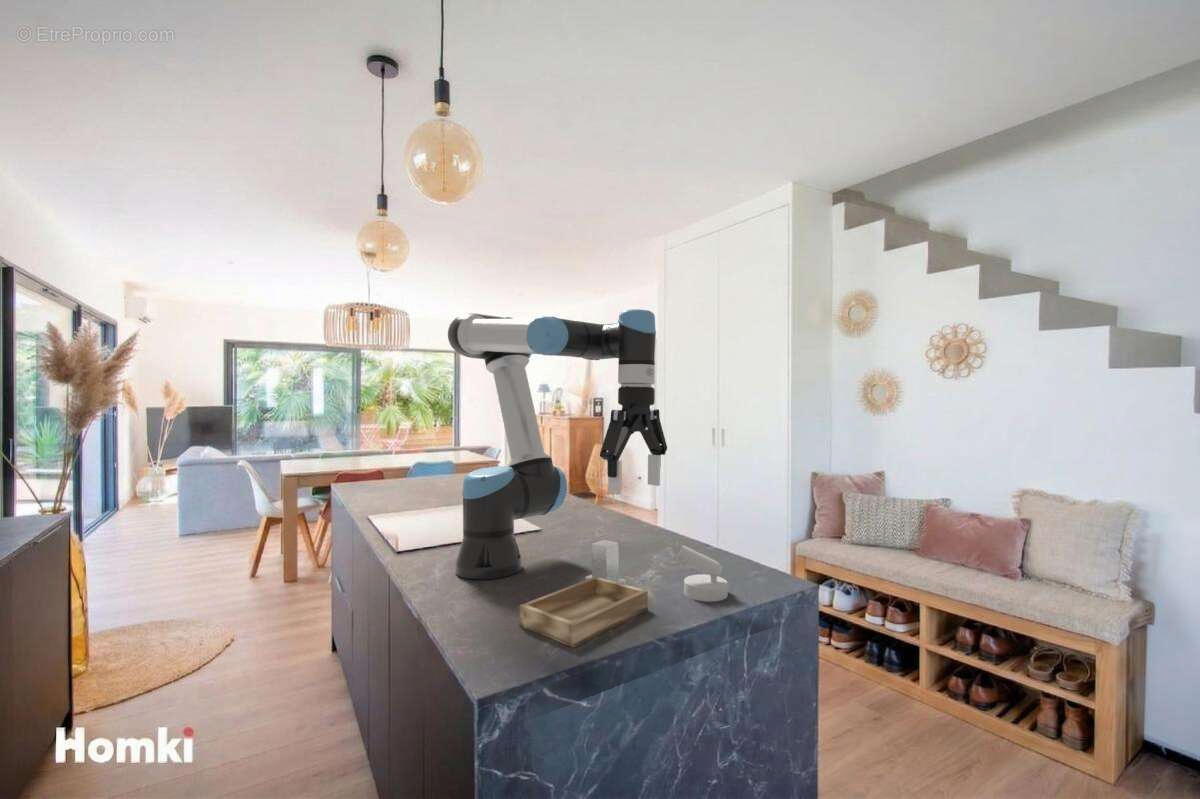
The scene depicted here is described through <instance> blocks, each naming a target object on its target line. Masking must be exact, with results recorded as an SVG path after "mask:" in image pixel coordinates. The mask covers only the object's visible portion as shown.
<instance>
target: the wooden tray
mask: <svg viewBox="0 0 1200 799" xmlns="http://www.w3.org/2000/svg"><path fill="white" fill-rule="evenodd" d="M648 597H649V595H648V590H645V589H642V588H638V587H635V586H631V585H628V584H626V585H625V584H621V583H617V582H614V581H610V580H606V579H603V578H599V577H596V576H595V577H592V578H590V579H587V580H585V579H584V580H582V581H579V582H577V583H574V584H572V585H569V586H567V587H564V588H561V589H559V590H556V591H553V592H551V593H548V594H546V595H544V596H540V597H538V598H536V599H533V600H530V601H528V602H525V603H522V604H520V605H519V616H518V617H519V619H518V620H519V627H521V628H523V629H527V630H529V631H531V632H534V633H536V634H539V635H541V636H544V637H546V638H549V639H551V640H553V641H556V642H558V643H561V644H564V645H566V646H568V647H571V648H573V649H575V648H576V647H578V646H580V645H582V644H585V643H586V642H588V641H590V640H592V639H594V638H595V637H598V636H600V635H601V634H604V633H605V632H607V631H609V630H611V629H613V628H615V627H617V626H618V625H621V624H623V623H625V622H626V621H629V620H630V619H633V618H634V617H636V616H639V615H640V614H642V613H644V612H646V611H648V609H649V606H648V604H649V602H648V600H649V599H648Z"/></svg>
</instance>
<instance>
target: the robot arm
mask: <svg viewBox="0 0 1200 799" xmlns="http://www.w3.org/2000/svg"><path fill="white" fill-rule="evenodd" d="M617 320H618V321H617V322H615V323H613V322H612V323H607V324H602V323H601V324H600V323H594V322H587V321H579V320H571V319H565V318H559V317H557V316H547V315H546V316H542V315H541V316H540V315H539V316H537V317H534V318H514V317H507V316H506V317H501V316H494V315H490V314H489V315H488V314H482V313H472V312H471V313H465V314H461V315H459V316H456V318H454V319H453V320H452V321H451V323H450V324H449V327H448V330H447V339H448V342H449V345H450V346H451V348H452V349H453V350H454V351H455V352H456V353H458V354H459V355H460V356H464V357H467V358H471V359H476V360H477V359H478V360H479V359H480V360H484V364H485V367H486V370H487V371H488V372H489V373H491V374H492V375H493V379H494V383H495V387H496V388H495V389H496V393H497V397H498V403H499V407H500V414H501V416H502V422H503V426H504V432H505V435H506V437H505V438H506V441H507V446H508V451H509V455H510V462H509V463H508V465H507V466H506V465H501V466H500V465H499V466H493V467H483V468H479V469H476V470H473V471H471V472H469V473H467V474H466V476H464V478H463V482H462V491H461V493H462V494H461V497H462V540H461V543H460V546H459V550H458V554H457V558H456V560H455V563H454V564H455V571H454V572H455V574H456V575H457V576H458V577H461V578H465V579H468V580H469V579H470V580H494V579H500V578H505V577H509V576H512V575H515V574H517V573H519V572H520V571H521V570H522V568H523V566H522V555H521V554H520V550H519V545H518V543H517V540H516V537H515V526H514V525H515V521H516V520H521V519H527V518H532V517H537V516H545V515H547V514H550V513H554V512H556V511H557V510H559V509H560V508H561V507H562V506H563V504H564V502H565V500H566V497H567V494H568V482H567V477H566V474H565V473H564V472H563V470H562V469H561V468H560V467H557V466H555V465H554V463H553V458H552V457H551V455H549V454H547V453H545V449H544V445H543V441H542V436H541V432H540V428H539V423H538V419H537V414H536V409H535V405H534V402H533V398H532V397H533V396H532V393H531V388H530V384H529V378H528V375H527V369H526V367H527V366H528V364H529V362H530V358H531V356H532V355H542V356H556V357H558V356H559V357H571V358H572V357H573V358H582V359H584V360H590V361H600V360H608V359H618V366H617V367H618V371H617V372H618V373H617V383H618V385H620V387H619V388H618V389H617V392H618V393H617V403H618V405H621V409H611V411H610V422H609V424H608V426H607V430H606V434H605V435H604V436H605V437H604V440H603V442H602V446H601V449H600V452H599V457H600V458H601V459H603V460H605V461H607V472H606V473H607V478H608V483H607V484H608V485H607V486H608V490H607V493H608V494H611V495H612V494H614V495H622V479H623V478H622V476H623V475H622V471H623V462H622V460H620V458H621V456H622V454H623V452H624V450H625V448H626V445H627V444H628V442H629V440H630V438H631V436H632V435H633V434H634V433H635V432H636V433H637V432H639V433H640V434H641V436H642V439H643V440H644V442H645V444H646V446H647V448H648V450H649V452H650V454H647V485H648V486H649V485H650V486H655V487H659V486H661V468H662V465H661V463H662V462H661V461H662V460H661V458H662V457H661V456H662V455H663V456H665V455H666V453H667V450H668V445H667V442H666V437H665V433H664V430H663V426H662V424H661V418H660V417H661V416H660V415H661V414H660V410H659V408H651V406H654V404H655V403H656V402H655V400H656V399H655V398H656V397H655V396H656V395H655V392H656V390H655V388H654V387H652V385H655V382H656V381H655V379H656V378H655V377H656V376H655V375H656V370H655V367H656V366H655V365H656V363H655V362H656V361H655V358H656V356H655V353H656V340H657V339H656V336H657V331H656V317H655V313H654V312H653V311H650V310H646V309H638V308H637V309H625V310H623V311H620V313H619V314H618V319H617Z"/></svg>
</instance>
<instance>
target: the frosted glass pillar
mask: <svg viewBox="0 0 1200 799" xmlns="http://www.w3.org/2000/svg"><path fill="white" fill-rule="evenodd" d="M619 548H620V547H619V542H617V541H612V540H606V539H603V540H599V541H595V542H593V543H591V574H589V575H586V576H585V577H584V580H587V579H590V578H592V577H595V576H596V577H599V578H603V579H606V580H610V581H614V582H617V583H621V584H625V585H627V580H626V579H623V578H620V577H619V575H620V574H619V572H620V569H619V567H620V566H619V564H620V563H619V561H620V560H619Z"/></svg>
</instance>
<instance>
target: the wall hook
mask: <svg viewBox="0 0 1200 799" xmlns="http://www.w3.org/2000/svg"><path fill="white" fill-rule="evenodd" d="M676 560H679V561H680V562H682V563H684V564H686V565H688V566H690V567H692V568H694V569H696V570H698V571H700V572H703V574H692V575H688V576H686V577H685V578H684V580H683V595H685V596H686V597H687V598H689V599H691V600H694V601H698V602H706V603H707V602H708V603H709V602H718V601H719V602H720V601H723V600H725V599H727V598H728V596H729V594H728V592H729V591H728V580H726V579H725V578H723V577H721V575H722V573H723V566H722V565H721V564H720V563H719V562H718V561H717V560H715V559H712V558H711V557H708V556H707V555H704V554H702V553H700V552H699V551H696V550H694V549H692V548H690V547H688V546H685V545H683V544H682V545H681V547H680V550H679V552H678V554H677V558H676Z"/></svg>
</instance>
